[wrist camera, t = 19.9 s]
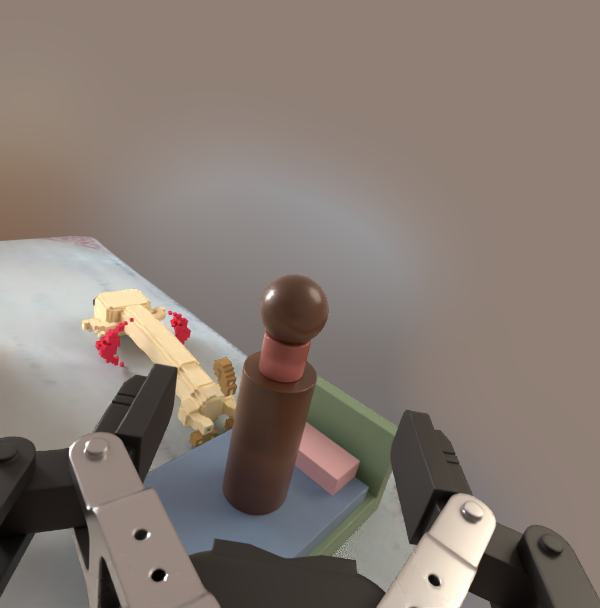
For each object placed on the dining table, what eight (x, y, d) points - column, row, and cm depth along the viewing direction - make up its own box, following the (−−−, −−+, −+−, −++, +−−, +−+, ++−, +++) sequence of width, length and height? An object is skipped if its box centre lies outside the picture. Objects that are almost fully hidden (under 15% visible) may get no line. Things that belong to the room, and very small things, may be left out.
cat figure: (262, 432, 44) (146, 305, 59) (283, 360, 40) (153, 243, 55) (169, 473, 38) (63, 318, 52) (183, 392, 34) (65, 248, 48)
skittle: (208, 483, 31) (243, 268, 25) (256, 454, 35) (297, 258, 28) (253, 528, 29) (305, 301, 22) (300, 492, 32) (356, 286, 26)
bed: (82, 538, 30) (83, 444, 27) (273, 427, 43) (289, 356, 40) (195, 696, 23) (214, 598, 20) (377, 508, 37) (406, 432, 34)
